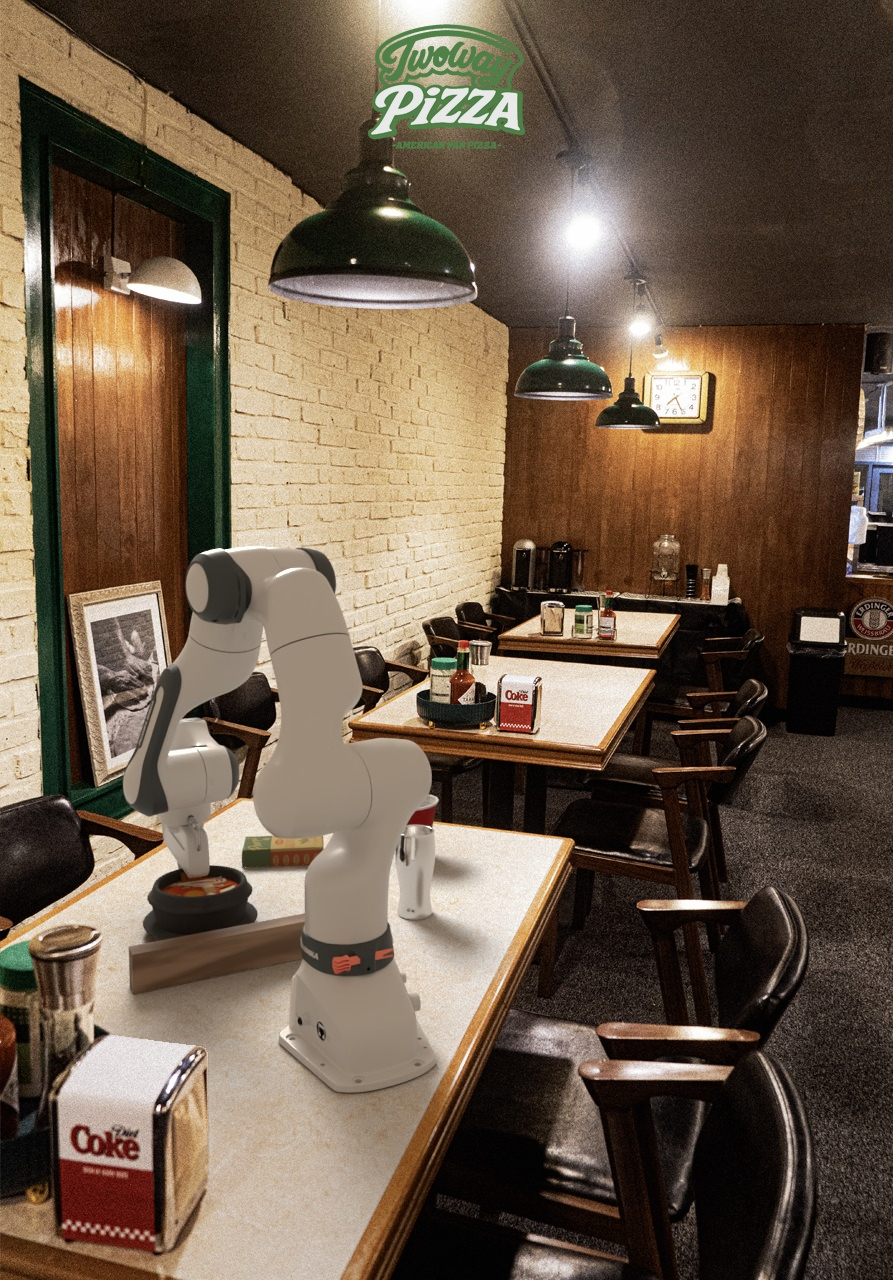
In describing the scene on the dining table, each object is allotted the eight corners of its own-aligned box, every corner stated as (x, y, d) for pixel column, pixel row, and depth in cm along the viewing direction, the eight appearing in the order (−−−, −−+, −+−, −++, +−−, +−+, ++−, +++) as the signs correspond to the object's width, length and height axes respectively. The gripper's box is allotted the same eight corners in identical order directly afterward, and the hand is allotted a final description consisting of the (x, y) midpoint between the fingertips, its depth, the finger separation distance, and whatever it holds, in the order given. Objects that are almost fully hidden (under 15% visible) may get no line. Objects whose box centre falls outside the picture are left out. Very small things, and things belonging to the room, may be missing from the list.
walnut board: (317, 955, 151) (317, 919, 150) (133, 994, 138) (132, 954, 137) (310, 947, 153) (310, 912, 153) (129, 985, 140) (128, 946, 140)
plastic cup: (387, 846, 201) (387, 791, 200) (438, 847, 201) (439, 792, 200) (383, 865, 191) (383, 806, 189) (437, 866, 190) (438, 807, 189)
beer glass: (387, 911, 168) (387, 829, 166) (418, 902, 172) (418, 821, 170) (411, 924, 163) (412, 839, 161) (442, 914, 167) (443, 831, 165)
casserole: (152, 902, 170) (150, 857, 169) (258, 896, 174) (257, 851, 173) (133, 966, 146) (131, 914, 145) (257, 958, 150) (256, 906, 148)
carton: (323, 867, 190) (323, 846, 190) (241, 870, 188) (240, 849, 188) (323, 852, 198) (323, 832, 198) (244, 855, 196) (244, 834, 196)
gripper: (218, 823, 159) (219, 902, 161) (189, 791, 177) (191, 863, 179) (179, 828, 156) (181, 909, 158) (154, 795, 174) (156, 868, 176)
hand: (186, 884), depth 168 cm, fingers closed
